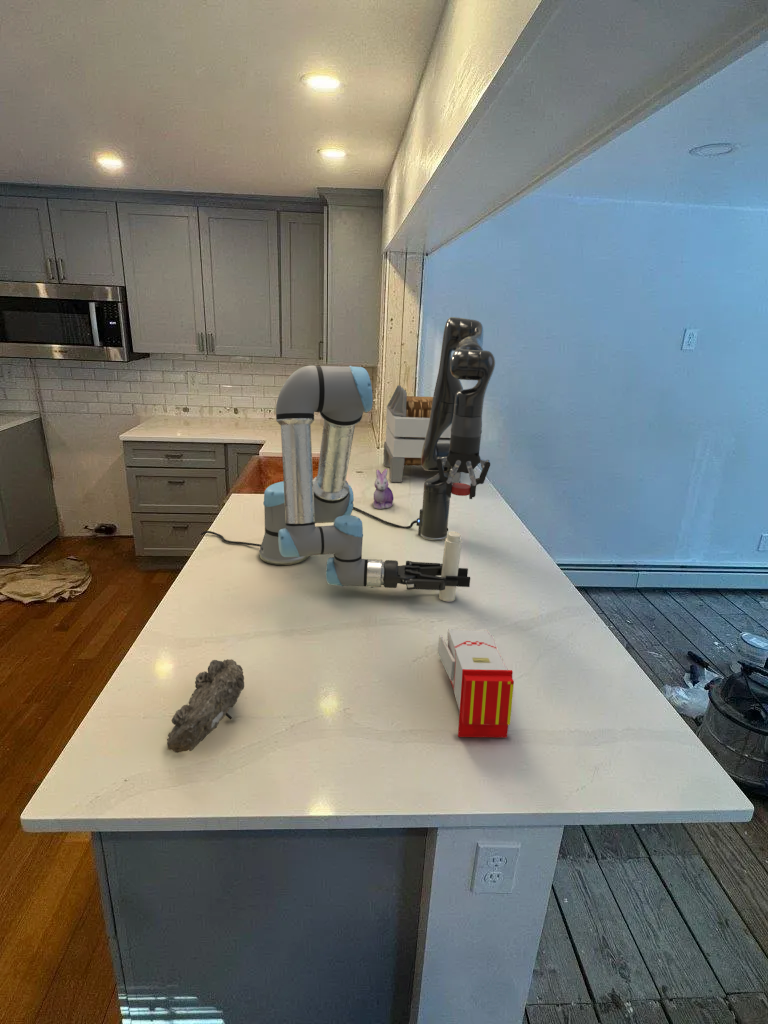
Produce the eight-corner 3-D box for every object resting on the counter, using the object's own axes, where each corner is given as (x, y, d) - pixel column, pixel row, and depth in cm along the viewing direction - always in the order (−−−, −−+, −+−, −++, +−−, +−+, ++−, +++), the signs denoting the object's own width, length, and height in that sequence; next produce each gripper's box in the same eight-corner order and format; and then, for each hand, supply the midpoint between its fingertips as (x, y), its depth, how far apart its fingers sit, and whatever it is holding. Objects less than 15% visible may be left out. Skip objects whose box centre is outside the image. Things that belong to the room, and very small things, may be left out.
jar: (436, 599, 156) (443, 534, 149) (441, 592, 160) (448, 529, 153) (452, 603, 154) (459, 538, 148) (456, 596, 158) (464, 533, 152)
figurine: (377, 511, 221) (379, 474, 216) (366, 503, 229) (367, 467, 224) (399, 508, 225) (401, 471, 220) (387, 500, 233) (388, 465, 228)
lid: (462, 489, 150) (463, 482, 149) (474, 494, 146) (474, 487, 145) (446, 491, 148) (447, 484, 147) (458, 496, 143) (458, 489, 143)
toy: (488, 613, 130) (523, 677, 101) (484, 667, 133) (517, 744, 104) (435, 612, 130) (455, 676, 101) (432, 666, 133) (451, 743, 103)
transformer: (382, 463, 289) (386, 382, 275) (445, 464, 293) (451, 384, 279) (390, 482, 257) (394, 392, 243) (460, 483, 261) (468, 394, 247)
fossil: (192, 660, 117) (244, 628, 112) (224, 691, 120) (276, 661, 115) (142, 746, 98) (202, 712, 93) (182, 779, 101) (242, 748, 96)
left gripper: (383, 572, 164) (463, 575, 164) (382, 601, 148) (471, 605, 148) (384, 548, 162) (465, 552, 162) (383, 575, 145) (474, 579, 145)
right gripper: (494, 431, 144) (487, 495, 150) (437, 428, 146) (432, 491, 151) (496, 438, 137) (488, 504, 143) (436, 434, 139) (431, 499, 144)
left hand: (468, 577), depth 155 cm, fingers closed on jar, 4 cm apart
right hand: (459, 497), depth 147 cm, fingers closed on lid, 5 cm apart
